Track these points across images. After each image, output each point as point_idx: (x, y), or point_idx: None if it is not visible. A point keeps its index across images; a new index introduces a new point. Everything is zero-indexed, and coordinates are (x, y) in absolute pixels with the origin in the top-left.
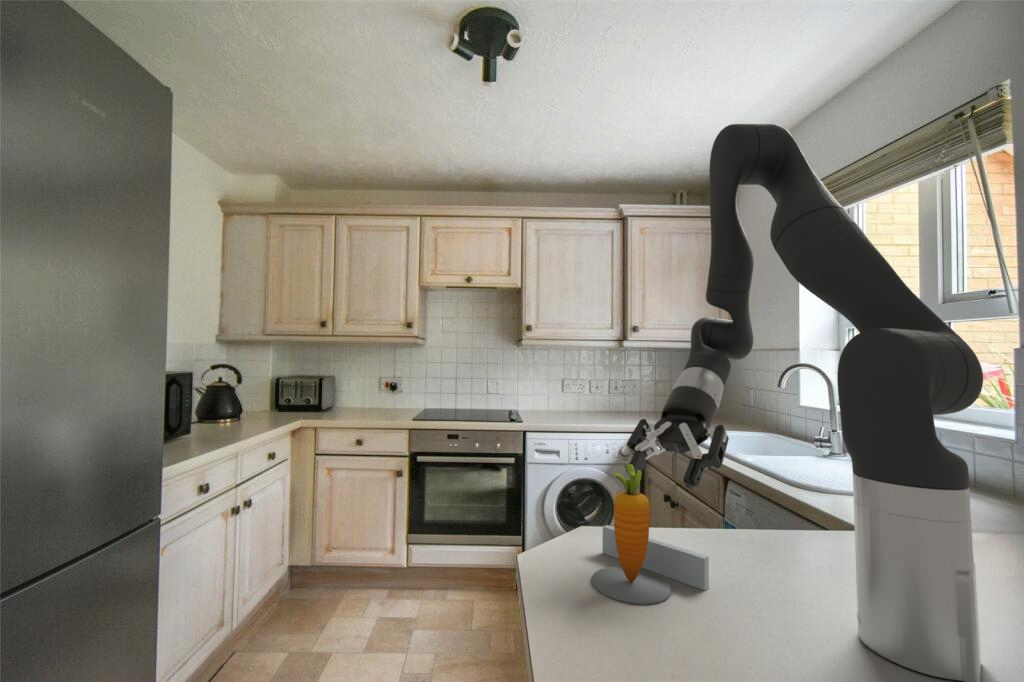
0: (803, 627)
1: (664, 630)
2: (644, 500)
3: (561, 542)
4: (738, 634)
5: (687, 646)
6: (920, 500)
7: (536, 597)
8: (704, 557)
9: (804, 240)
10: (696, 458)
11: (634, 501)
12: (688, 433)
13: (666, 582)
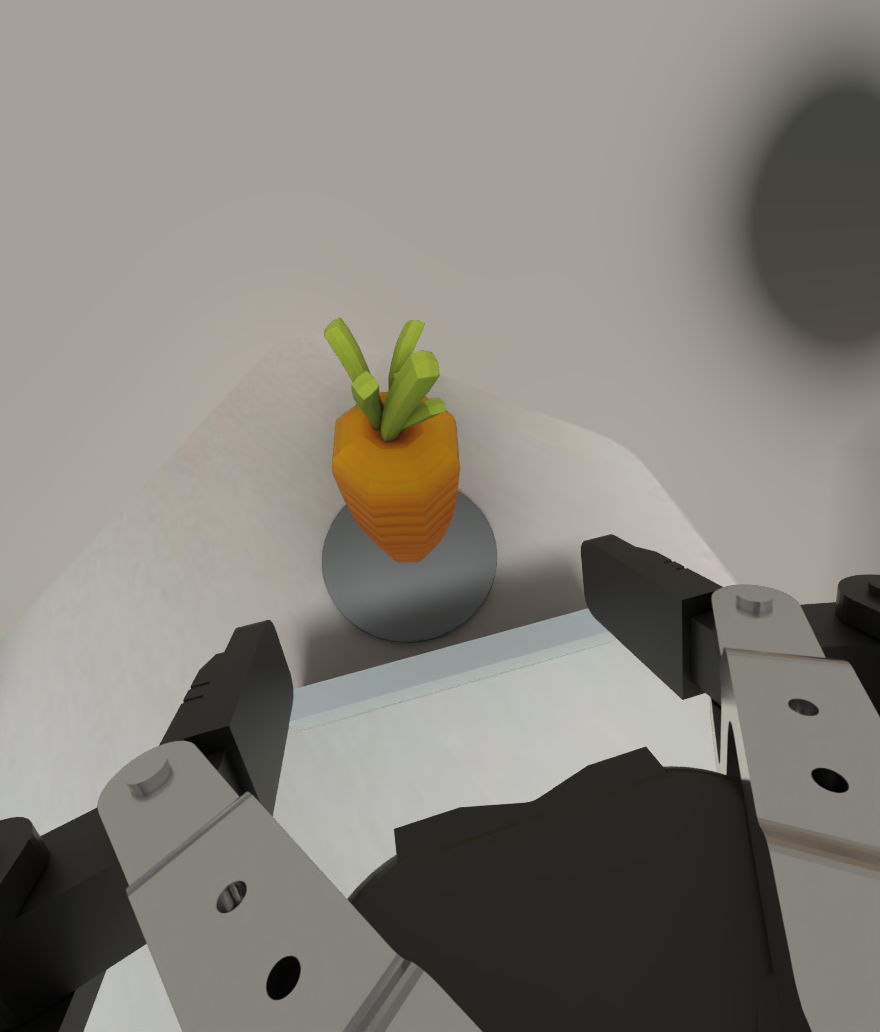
0: (65, 769)
1: (258, 495)
2: (338, 443)
3: (701, 563)
4: (163, 600)
5: (209, 493)
6: None
7: (448, 388)
8: None
9: None
10: (172, 745)
11: (349, 410)
12: (273, 1030)
13: (368, 628)
